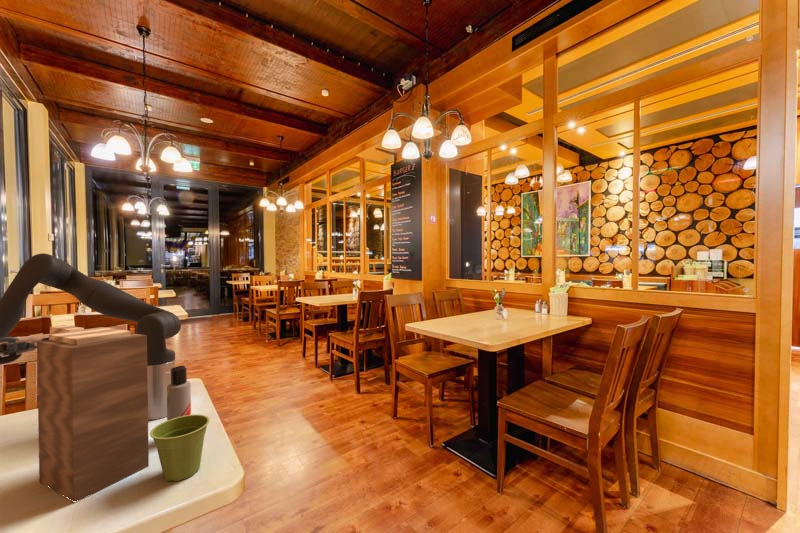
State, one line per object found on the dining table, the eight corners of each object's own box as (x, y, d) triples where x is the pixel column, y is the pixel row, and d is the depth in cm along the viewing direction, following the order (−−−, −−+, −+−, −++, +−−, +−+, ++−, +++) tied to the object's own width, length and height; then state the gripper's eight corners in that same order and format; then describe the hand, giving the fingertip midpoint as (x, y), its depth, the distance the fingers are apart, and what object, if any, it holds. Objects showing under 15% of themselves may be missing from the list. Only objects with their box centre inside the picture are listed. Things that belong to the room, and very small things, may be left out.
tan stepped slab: (29, 335, 83) (29, 329, 83) (82, 328, 92) (82, 322, 92) (77, 345, 73) (77, 337, 73) (130, 335, 82) (130, 329, 82)
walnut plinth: (39, 482, 77) (36, 341, 77) (112, 451, 90) (111, 330, 89) (74, 503, 70) (72, 348, 70) (148, 466, 83) (146, 335, 83)
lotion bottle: (195, 433, 99) (195, 365, 98) (177, 443, 93) (176, 371, 93) (181, 430, 101) (180, 363, 100) (162, 440, 95) (161, 369, 95)
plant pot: (188, 454, 88) (187, 411, 88) (221, 464, 83) (220, 418, 83) (138, 481, 77) (137, 432, 77) (173, 495, 73) (172, 442, 72)
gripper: (-44, 343, 89) (-9, 333, 84) (29, 334, 103) (63, 325, 98) (-41, 372, 89) (-7, 364, 84) (32, 359, 102) (66, 351, 97)
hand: (31, 343), depth 91 cm, fingers open, 8 cm apart
